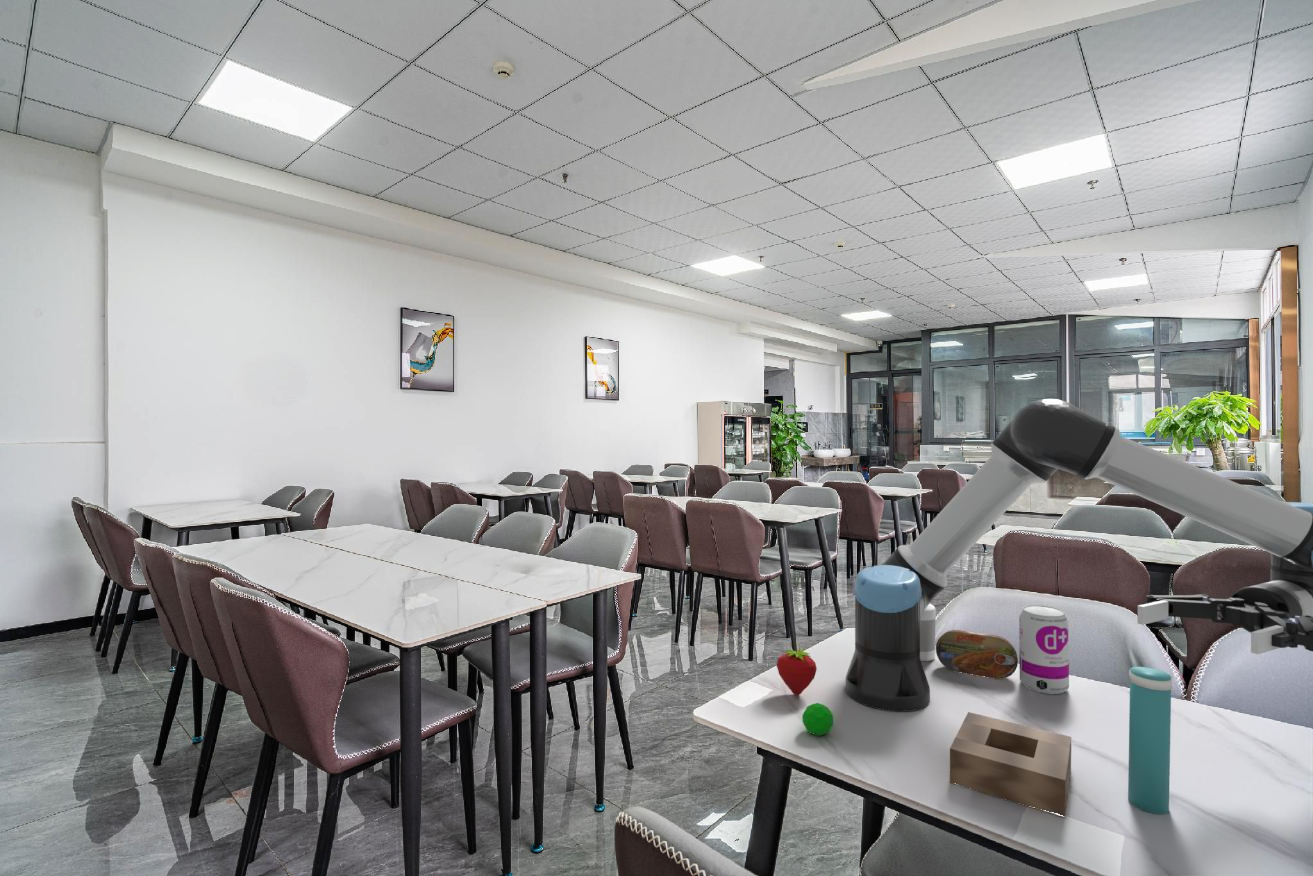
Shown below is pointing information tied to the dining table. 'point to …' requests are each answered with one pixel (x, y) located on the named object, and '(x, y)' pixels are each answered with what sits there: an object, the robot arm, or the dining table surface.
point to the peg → (1149, 739)
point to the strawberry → (796, 670)
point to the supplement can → (1044, 649)
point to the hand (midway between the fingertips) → (1193, 628)
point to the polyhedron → (817, 719)
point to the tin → (977, 654)
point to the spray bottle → (927, 633)
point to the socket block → (1012, 762)
